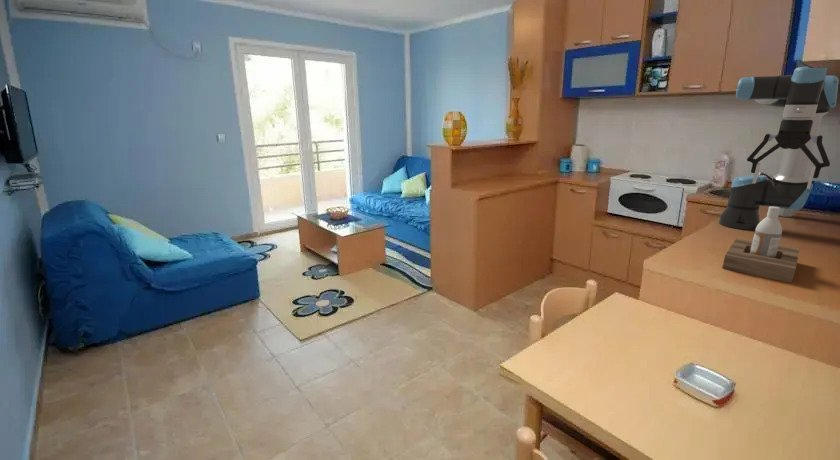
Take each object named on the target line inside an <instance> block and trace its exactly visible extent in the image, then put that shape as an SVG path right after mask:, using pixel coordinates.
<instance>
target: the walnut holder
mask: <svg viewBox="0 0 840 460" xmlns="http://www.w3.org/2000/svg"><path fill="white" fill-rule="evenodd" d="M752 242H753V240H748V239H742V238H735V239H734V241H733V243H732V244H731V246H730V247H729V248H728V250H727V251H726V253H725V254H724V259H723V264H722V268H721V269H724V270H727V271H731V272H733V271H734V272H736V273H737V272H738V273H741V274H747V275H750V276H751V275H752V276H756V277H760V278H761V277H762V278H765V279H769V280H775V281H778V282H779V281H780V282H784V283H789V284H792V283H793V280H794V276H795V273H796V269H797V265H798V260H799V254H800V249H799V248H793V247H788V246H782V245H779V246H778V250H777V253H776V257H775V258H771V257H765V256H760V255H755V254H750V250H751V246H752Z"/></svg>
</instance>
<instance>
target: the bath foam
mask: <svg viewBox="0 0 840 460" xmlns="http://www.w3.org/2000/svg"><path fill="white" fill-rule="evenodd" d="M779 211H780V208H779V207H774V206H770V207H769V206H768V209H767V213H766V217H764V218H763V219H762V220H760V223H759V224H758V225H757V227H756V229H755V230H754V234H753V238H752V241H753V242H752V246H751V250H750V254H755V255H760V256H765V257H771V258H775V257H776V253H777V250H778V246H780V242H781V239H782V234H783V227H782V225H781V222H780V220H779V216H778V215H779Z"/></svg>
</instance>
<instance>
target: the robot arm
mask: <svg viewBox="0 0 840 460" xmlns="http://www.w3.org/2000/svg"><path fill="white" fill-rule="evenodd" d="M827 71H828V68H822V67H821V68H810V67H808V65H807V66H799V67H796V68H795V69H794V70H793V74H789V75H788V74H787V75H772V76H771V75H768V76H763V75H762V76H747V77H746V76H744V77H742V78H740V79H739V80H738V82H737V86H736V90H735V98H736V99H737V100H745V101H749V100H754V101H755V102H756V103H757V104H760V105H765V106H769V107H773V108H784V109H783V112H782V118H783V119H782V120H780V125H779V130H778V132H777V134H771V133H766V134H765V135H764V138H763V140H762V142H761V143H760V144H759V145H758V146H757V147H756V148H755V149H754V151H752V153H751V154H750V155H749V156H748V157H747V158H746V161H747V162H750V163H752V166H751V170H750V173H751V175H749V174H748V175H739V176H736V177H734V178H733V180H732V183H731V186H730V193H729V197H728V200H727V205H726V208H725V210H724V211H723V212H722V214H721V216H720V217H719V221H718V223H719V225H722V226H724V227H728V228H732V229H738V230H747V231H748V230H749V231H750V230H751V231H753V230H754V231H755V229H756V227H757V225H758V224H759V223H760V222H761V218H760V213H759V210H760V206H761V207H763V206H764V207H768V208H769V207H770V206H774V207H779V208H784V209H794V211H795V210H796V211H798V210H801V209H803V208H804V206H805V204H806V202H807V201H808V199H809V196H810V195H811V194H810V193H811V192H812V189H813V186H814V183H812V182H813V179H818V178H819V176H820V172H821V169H823V168H826V167H829V166H830V167H831V163H830V160H829V158H828V155H827V152H826V149H825V147H824V144H823V138H824V137H823V135H820V134H819V135H818V133H819V130H820V126H821V122H822V119H823V117H824V116H825V115H827V114H828V113H830V109H833V108H835V107H836V105H837V99H838V92H839V78H838V76H836V75H827ZM773 139H774V140H776V142H777V143H776V144H775V145H773V146H772V147H771V148H769V149H767V151H765V152H764V153H762V154H761V155H760V156H757V158H755V156H756V155H758V153H760V151H761V150H762V149H763V148H764V147H765V145H767V143H768V142H771V141H772V140H773ZM815 144H816V147H817V150H818V152H819V155H820V158H821V160H822V162H820V161H819V159H817V157H816V156H815V155H814V154H813V150H814V148H815ZM780 148H781V149H783V150H784V151H783V156H782V158H781V164H780V167H779V172H778V173H777V174H775V175H773V178H772V179H768V176H767V175H761V174H759V173H760V168H761V163H760V162H761V161H763V159H765V158H767V157H768V156H769V155H771V154H772V153H773V152H775V151H776V150H778V149H780ZM810 162H811V163H812V164H813V165H814V166H812V168H811V171H810V174H809V176H808V175H807V174H808V173H807V172H808V169H809V165H810Z"/></svg>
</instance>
